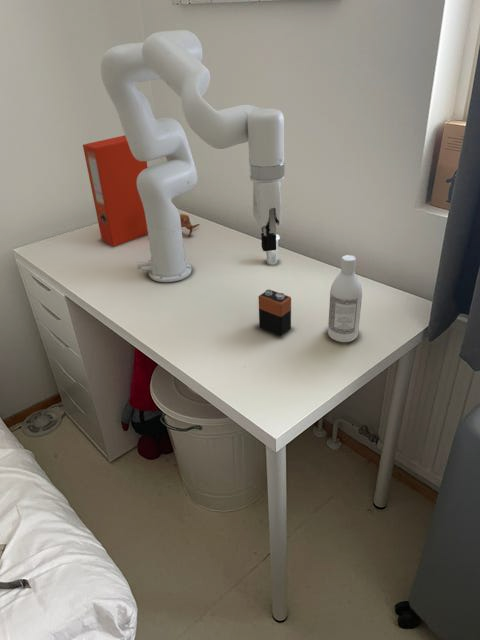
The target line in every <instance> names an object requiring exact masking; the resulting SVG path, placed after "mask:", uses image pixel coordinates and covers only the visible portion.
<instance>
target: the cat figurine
mask: <svg viewBox="0 0 480 640" xmlns="http://www.w3.org/2000/svg"><path fill="white" fill-rule="evenodd" d="M179 214H180V220H181V228H185V229H187V230H189V234H188V235H187V237H190V236H192V233H193V231H194V228H197V227H199V226H200V223H196V224H194V225H193V224H192V223H191V221H190V217H189V215H188V214H183V213H179Z"/></svg>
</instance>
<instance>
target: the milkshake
mask: <svg viewBox="0 0 480 640" xmlns="http://www.w3.org/2000/svg"><path fill="white" fill-rule="evenodd" d="M280 239H281V236H280V235H279V234H277V233H276V250H272V251H265V254H266V264H268V265H272V266H273V265H277V264H278V262H279V249H280Z"/></svg>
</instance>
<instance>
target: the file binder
mask: <svg viewBox="0 0 480 640" xmlns="http://www.w3.org/2000/svg"><path fill="white" fill-rule="evenodd" d="M82 148H83V153H84V159H85V163H86V168H87V174H88V178H89V183H90V188H91V193H92V198H93V203H94V209H95V214H96V218H97V224H98V227H99V228H98V229H99V233H100V238H101V241H102V242H104V243H106V244H108V245H110V246H112V247H117V246H118V245H122V244H124V243H127V242H131V241H132V240H135V239H138V238H142V237H144V236H147V235H148V230H147V224H146V217H145V212H144V207H143V204H142V201H141V198H140V195H139V192H138V189H137V177H138V175H139V174H140V172H141V171H143V170H144V169H146V168H148V167H149V166H148V161H145V162H143V161H138V160H137V159H135V157H134V156H133V154H132V152H131V150H130V147H129V145H128V142H127V139H126V136H125V134H123V135H121V136H116V137H112V138H107V139H102V140H97V141H93V142H88V143H83V144H82Z"/></svg>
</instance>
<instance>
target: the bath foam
mask: <svg viewBox="0 0 480 640" xmlns="http://www.w3.org/2000/svg"><path fill="white" fill-rule="evenodd" d="M356 260H357V258H356V256H355V255H351V254H346V255H343V256H342V257H341V265H340V272H339V274H337V276H336V277H335V279H334V280H333V282H332V283H331V287H330V290H329V291H330V293H329V309H328V322H327V323H328V324H327V334H328V336H329V337H330V338H331V339H332V340H333V341H336V342H340V343H349V342H353V341H354V340H356V339H357V338H358V336H359V329H360V318H361V309H362V299H363V286H362V283H361V280H360V279H359V277H358V276H357V274H356V272H355V271H356V263H357V262H356Z"/></svg>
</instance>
